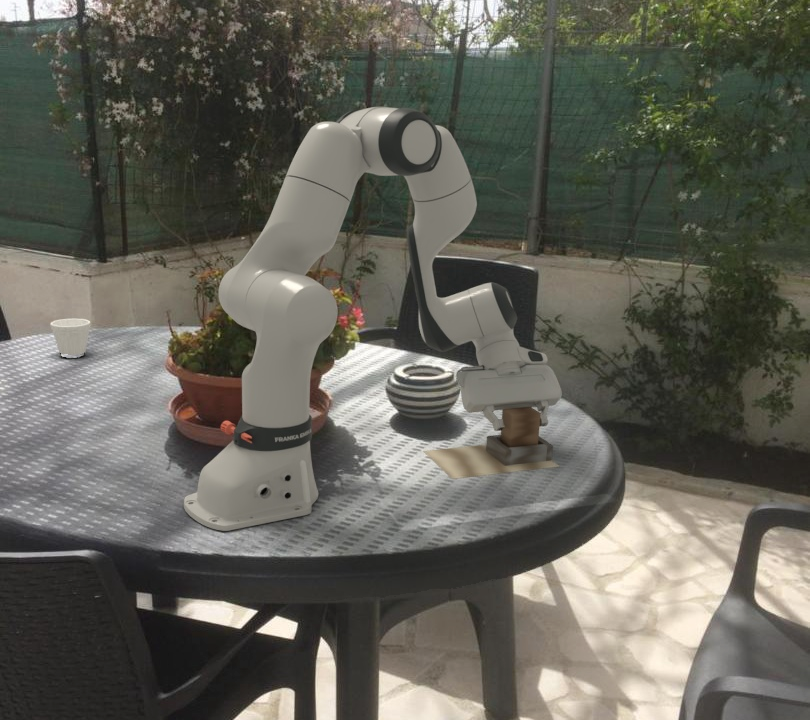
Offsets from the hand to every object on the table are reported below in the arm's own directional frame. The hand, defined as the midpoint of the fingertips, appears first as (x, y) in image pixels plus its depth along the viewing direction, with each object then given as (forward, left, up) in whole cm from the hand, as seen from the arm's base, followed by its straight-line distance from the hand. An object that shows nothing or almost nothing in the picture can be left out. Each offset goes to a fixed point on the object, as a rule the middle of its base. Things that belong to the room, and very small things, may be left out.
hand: (522, 427), depth 158 cm
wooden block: (0, +1, -6) cm, 6 cm away
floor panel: (-5, +3, -7) cm, 10 cm away
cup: (-41, +123, -8) cm, 130 cm away
